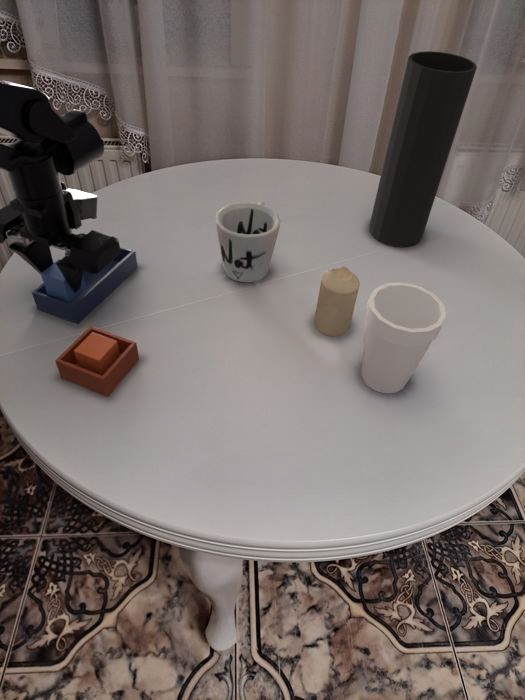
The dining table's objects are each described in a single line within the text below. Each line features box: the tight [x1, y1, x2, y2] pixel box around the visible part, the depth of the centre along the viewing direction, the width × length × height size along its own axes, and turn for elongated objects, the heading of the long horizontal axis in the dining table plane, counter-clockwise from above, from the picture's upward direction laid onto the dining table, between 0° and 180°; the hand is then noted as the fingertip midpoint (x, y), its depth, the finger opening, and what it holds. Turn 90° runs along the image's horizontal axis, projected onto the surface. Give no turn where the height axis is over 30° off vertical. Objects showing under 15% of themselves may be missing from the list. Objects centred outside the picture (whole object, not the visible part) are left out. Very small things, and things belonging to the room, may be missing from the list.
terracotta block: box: [74, 332, 120, 376], centre depth 68 cm, size 4×4×4 cm
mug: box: [214, 201, 282, 283], centre depth 86 cm, size 10×15×10 cm
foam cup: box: [361, 281, 447, 394], centre depth 67 cm, size 10×9×13 cm
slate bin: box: [31, 245, 138, 325], centre depth 81 cm, size 8×16×3 cm, turn 157°
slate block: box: [40, 258, 86, 302], centre depth 75 cm, size 4×4×4 cm
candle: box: [313, 266, 361, 337], centre depth 75 cm, size 6×6×10 cm
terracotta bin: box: [54, 325, 140, 398], centre depth 69 cm, size 8×8×3 cm
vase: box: [368, 50, 478, 248], centre depth 88 cm, size 10×10×30 cm
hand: (65, 286), depth 76 cm, fingers closed on slate block, 4 cm apart
